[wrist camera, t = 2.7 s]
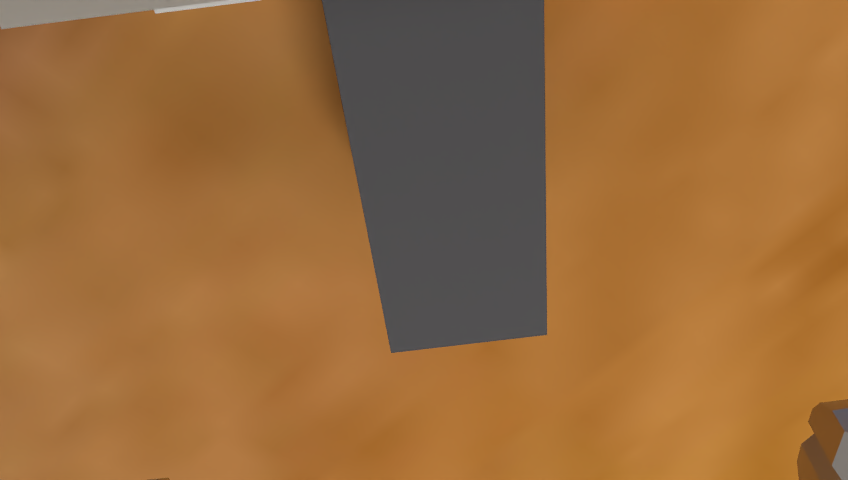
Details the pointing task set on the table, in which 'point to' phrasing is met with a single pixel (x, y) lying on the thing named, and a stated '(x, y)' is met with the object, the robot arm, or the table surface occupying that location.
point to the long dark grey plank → (448, 162)
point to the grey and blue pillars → (88, 9)
